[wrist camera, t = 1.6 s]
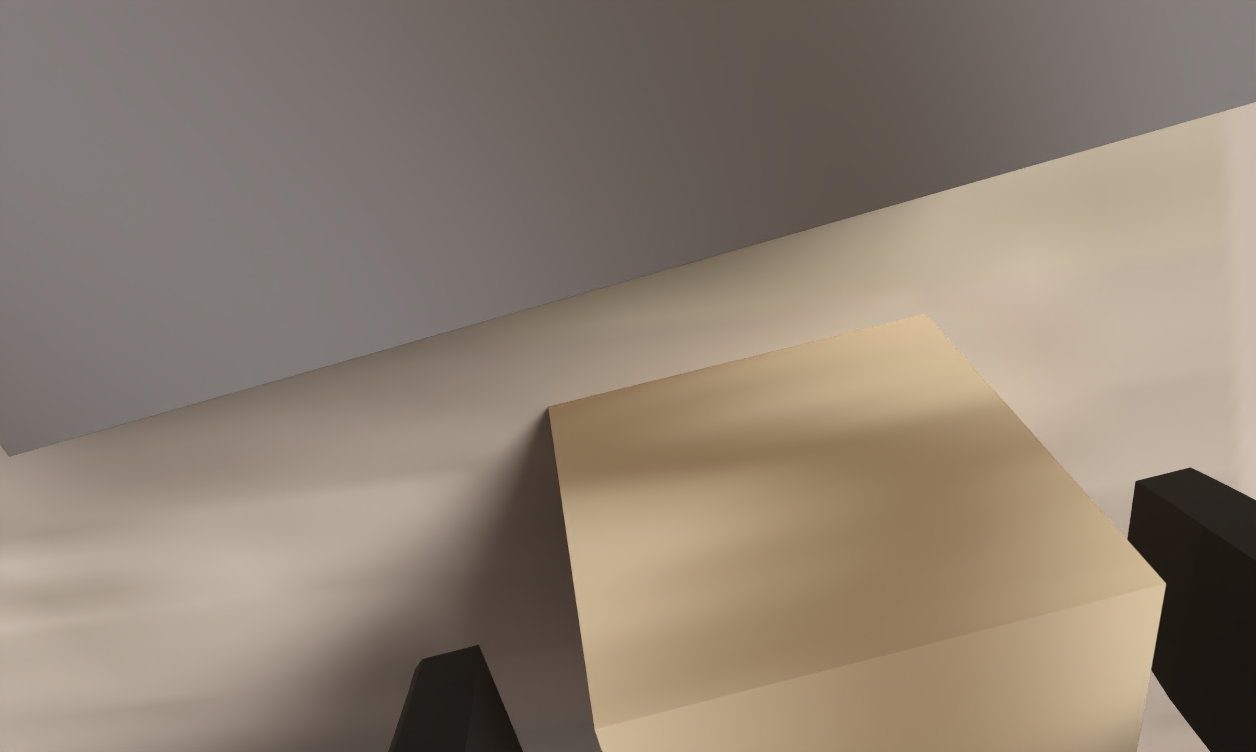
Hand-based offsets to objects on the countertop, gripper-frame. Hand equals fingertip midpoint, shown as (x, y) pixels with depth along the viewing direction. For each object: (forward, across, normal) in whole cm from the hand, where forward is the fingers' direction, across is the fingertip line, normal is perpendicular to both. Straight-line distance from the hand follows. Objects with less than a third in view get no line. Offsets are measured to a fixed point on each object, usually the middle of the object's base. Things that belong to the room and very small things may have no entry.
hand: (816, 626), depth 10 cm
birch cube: (+2, 0, 0) cm, 2 cm away
